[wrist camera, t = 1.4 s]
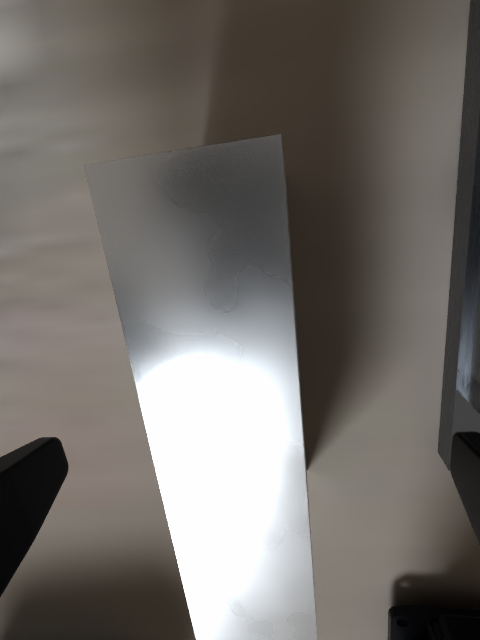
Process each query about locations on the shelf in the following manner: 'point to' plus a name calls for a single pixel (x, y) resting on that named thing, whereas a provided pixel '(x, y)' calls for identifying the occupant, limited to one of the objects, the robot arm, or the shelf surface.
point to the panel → (217, 374)
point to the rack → (465, 267)
